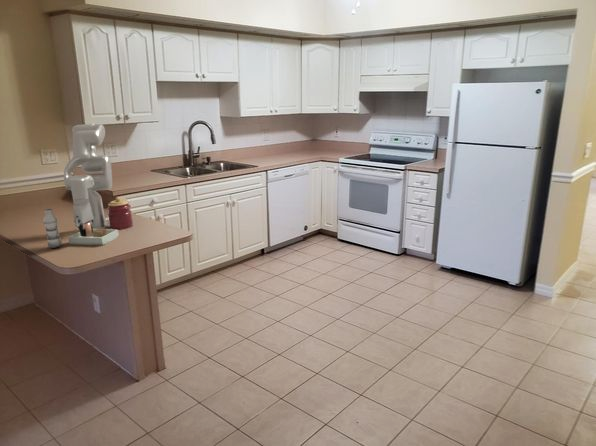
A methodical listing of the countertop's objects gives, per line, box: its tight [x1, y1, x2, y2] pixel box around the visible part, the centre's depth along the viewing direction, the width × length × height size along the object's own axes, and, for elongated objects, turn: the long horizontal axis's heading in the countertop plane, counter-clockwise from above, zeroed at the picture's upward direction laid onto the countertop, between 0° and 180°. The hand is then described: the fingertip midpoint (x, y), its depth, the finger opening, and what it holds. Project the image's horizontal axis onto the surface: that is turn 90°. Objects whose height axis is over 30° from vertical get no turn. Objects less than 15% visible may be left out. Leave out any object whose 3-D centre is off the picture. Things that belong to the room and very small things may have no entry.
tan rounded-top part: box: [81, 222, 92, 237], centre depth 246 cm, size 5×5×7 cm
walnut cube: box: [93, 228, 108, 237], centre depth 246 cm, size 5×5×5 cm
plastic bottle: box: [42, 208, 63, 249], centre depth 236 cm, size 6×7×20 cm
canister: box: [106, 196, 134, 230], centre depth 269 cm, size 13×13×18 cm
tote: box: [67, 228, 120, 246], centre depth 247 cm, size 15×20×4 cm
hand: (87, 234), depth 247 cm, fingers closed on tan rounded-top part, 4 cm apart
